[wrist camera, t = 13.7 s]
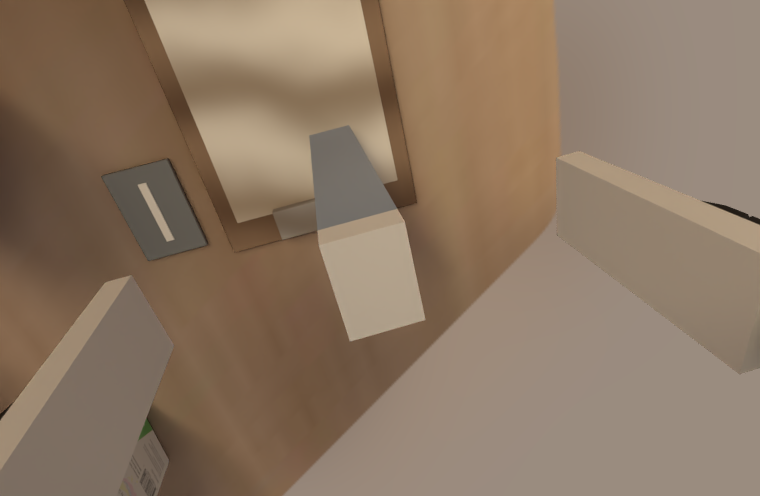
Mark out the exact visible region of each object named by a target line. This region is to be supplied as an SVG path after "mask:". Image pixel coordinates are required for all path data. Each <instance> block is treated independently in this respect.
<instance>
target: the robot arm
mask: <svg viewBox="0 0 760 496" xmlns="http://www.w3.org/2000/svg"><path fill="white" fill-rule="evenodd" d="M556 190H557V236H559V237H560V238H561V239H563V240H564V241H565V242H567V243H568V244H569V245H570V246H572V247H573V248H574V249H576V250H577V251H578V252H580V253H581V254H582V255H584V256H585V257H586V258H587V259H589V260H590V261H591V262H593V263H594V264H595V265H597V266H598V267H599V268H601V269H602V270H603V271H605V272H606V273H607V274H608V275H610V276H611V277H613V278H614V279H615V280H617V281H618V282H619V283H620V284H622V285H623V286H624V287H626V288H627V289H628V290H629V291H631V292H632V293H633V294H635V295H636V296H637V297H639V298H640V299H641V300H643V301H644V302H645V303H647V304H648V305H649V306H650V307H652V308H653V309H654V310H656V311H657V312H658V313H660V314H661V315H662V316H664V317H665V318H666V319H668V320H669V321H670V322H671V323H673V324H674V325H675V326H677V327H678V328H679V329H681V330H682V331H683V332H685V333H686V334H687V335H689V336H690V337H691V338H692V339H694V340H695V341H697V342H698V343H699V344H700V345H702V346H703V347H704V348H706V349H707V350H708V351H710V352H711V353H712V354H714V355H715V356H716V357H718V358H719V359H720V360H721V361H723V362H724V363H725V364H727V365H728V366H729V367H731V368H732V369H733V370H734V371H736V372H737V373H738V374H742V373H745V372H748V371H752V370H754V369H758V368H760V219H758V218H756V217H753V216H752V217H749V216H748V214H746V213H743V212H741V211H738V210H736V209H733V208H730V207H728V206H725V205H720V204H715V203H709V202H705V201H700V200H698V199H695V198H693V197H690V196H688V195H685V194H683V193H680V192H678V191H675V190H673V189H671V188H668V187H666V186H663V185H660V184H658V183H656V182H653V181H651V180H649V179H646V178H643V177H641V176H639V175H636V174H634V173H631V172H629V171H627V170H624V169H622V168H619V167H617V166H614V165H612V164H609V163H607V162H605V161H602V160H599V159H597V158H595V157H592V156H590V155H587V154H585V153H582V152H580V151H579V152H575V153H571V154H568V155H564V156H560V157H557V158H556ZM173 347H174V344H173V343H172V341H171V339H170V338H169V336H168V334H167V333H166V331H165V330H164V328H163V326H162V325H161V323H160V321H159V320H158V318H157V316H156V315H155V313H154V311H153V310H152V308H151V306H150V305H149V303H148V301H147V300H146V298H145V296H144V295H143V293H142V291H141V290H140V288H139V286H138V285H137V283H136V281H135V280H134V278H133V276H132V275H130V276H126V277H122V278H119V279H115V280H112V281H108V282H105V283H104V284H103V286H102V287H101V288H100V290H99V291H98V292H97V294H96V295H95V296H94V298H93V299H92V300H91V302H90V303H89V304H88V305H87V307H86V308H85V309H84V311H83V312H82V313H81V315H80V316H79V317H78V319H77V320H76V321H75V323H74V324H73V325H72V327H71V328H70V329H69V331H68V332H67V333H66V334H65V336H64V337H63V338H62V340H61V341H60V342H59V344H58V345H57V346H56V348H55V349H54V350H53V352H52V353H51V354H50V356H49V357H48V358H47V359H46V361H45V362H44V363H43V365H42V366H41V367H40V369H39V370H38V371H37V373H36V374H35V375H34V377H33V378H32V379H31V381H30V382H29V383H28V385H27V386H26V387H25V388H24V390H23V391H22V392H21V394H20V395H19V396H18V398H17V399H16V400H15V401H14V402H13V403H12V404H11V405H10V406H9V407H8V408H7V409H6V410H4V411H3V412H2V413H1V414H0V496H117V494H118V491H119V488H120V486H121V483H122V481H123V478H124V475H125V473H126V470H127V468H128V465H129V462H130V460H131V457H132V454H133V452H134V449H135V447H136V444H137V441H138V439H139V436H140V434H141V431H142V428H143V426H144V423H145V421H146V418H147V415H148V413H149V410H150V407H151V405H152V402H153V400H154V397H155V394H156V392H157V389H158V387H159V384H160V381H161V379H162V376H163V373H164V371H165V368H166V366H167V363H168V360H169V358H170V355H171V353H172V350H173Z"/></svg>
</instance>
